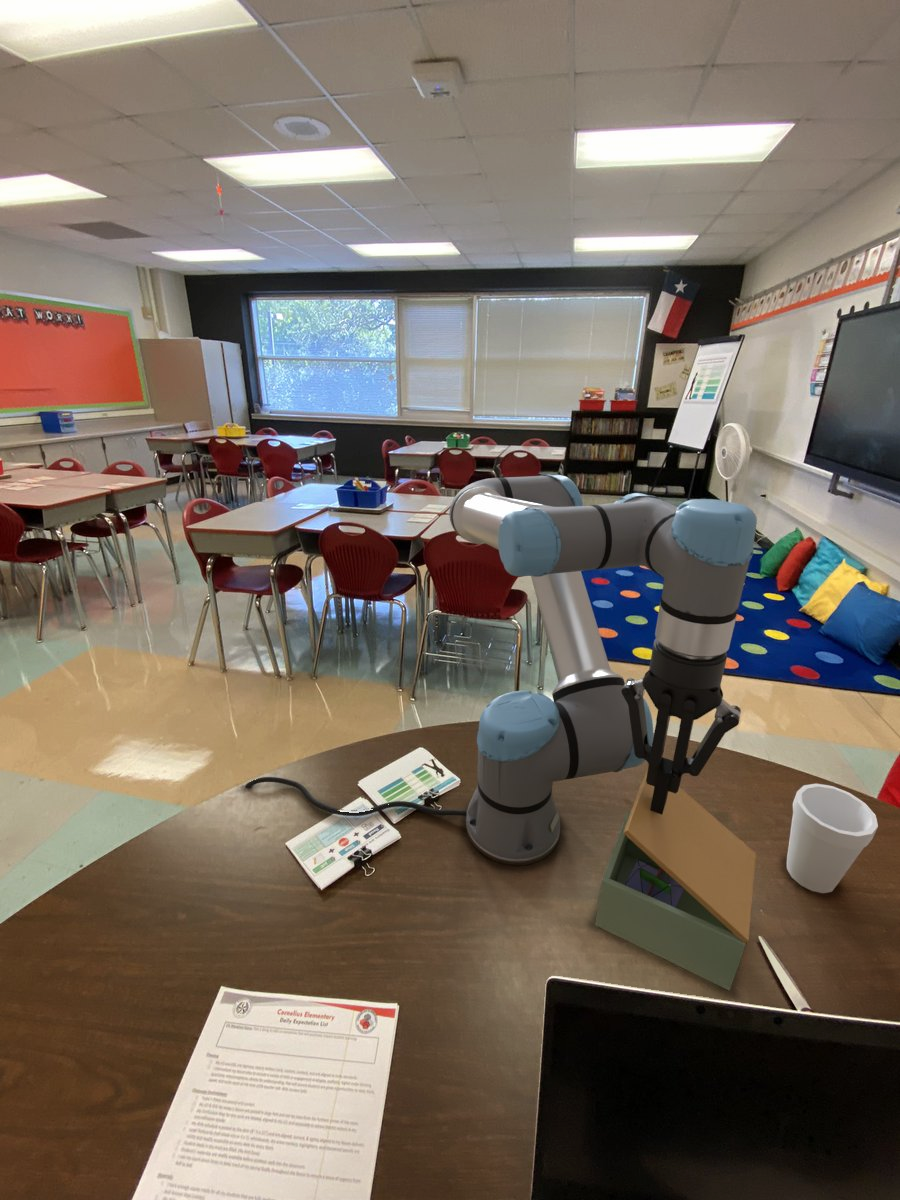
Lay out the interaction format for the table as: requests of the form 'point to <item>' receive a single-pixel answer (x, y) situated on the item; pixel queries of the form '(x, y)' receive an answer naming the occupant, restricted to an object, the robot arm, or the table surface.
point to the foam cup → (827, 835)
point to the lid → (697, 855)
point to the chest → (665, 921)
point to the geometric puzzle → (654, 884)
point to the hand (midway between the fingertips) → (658, 805)
